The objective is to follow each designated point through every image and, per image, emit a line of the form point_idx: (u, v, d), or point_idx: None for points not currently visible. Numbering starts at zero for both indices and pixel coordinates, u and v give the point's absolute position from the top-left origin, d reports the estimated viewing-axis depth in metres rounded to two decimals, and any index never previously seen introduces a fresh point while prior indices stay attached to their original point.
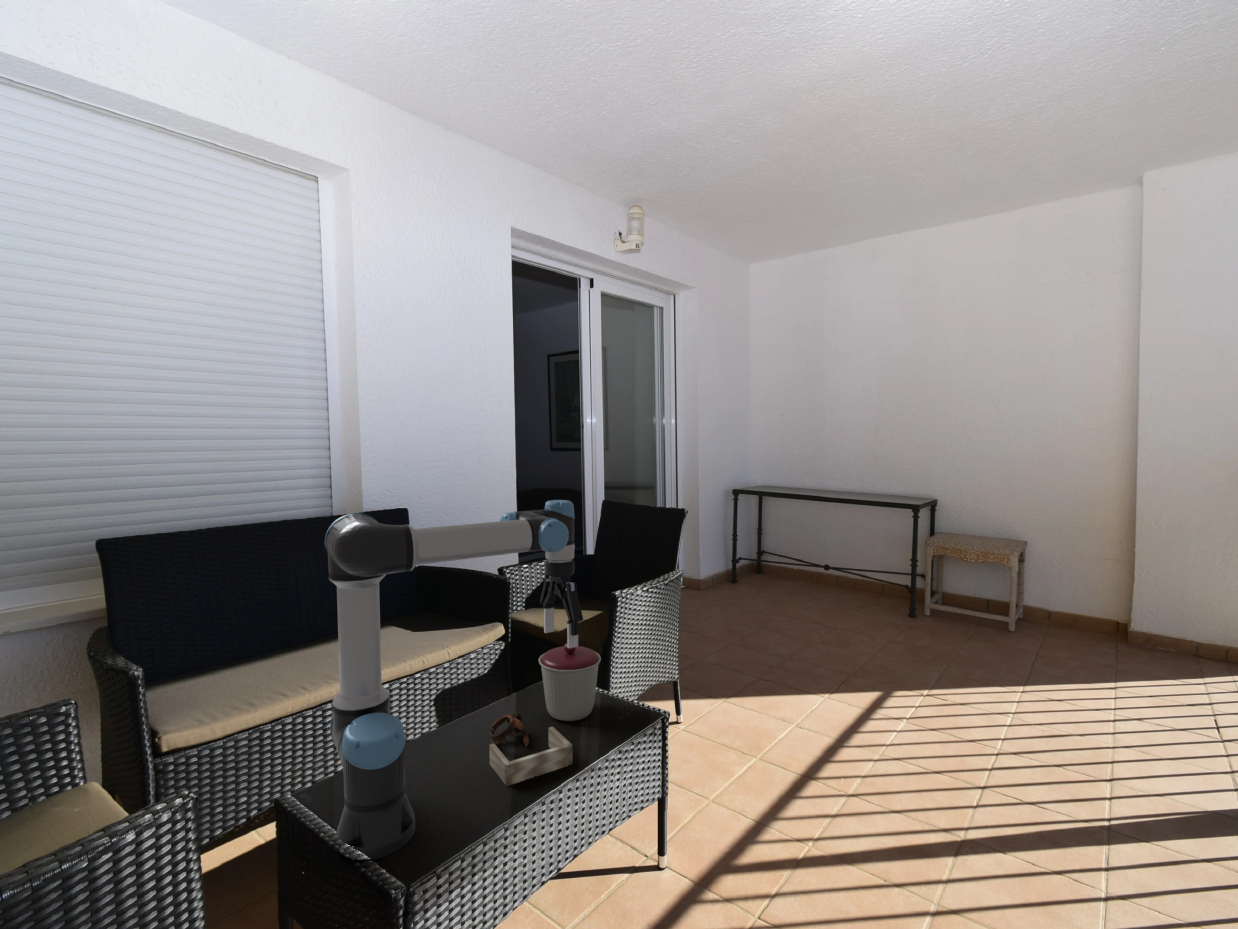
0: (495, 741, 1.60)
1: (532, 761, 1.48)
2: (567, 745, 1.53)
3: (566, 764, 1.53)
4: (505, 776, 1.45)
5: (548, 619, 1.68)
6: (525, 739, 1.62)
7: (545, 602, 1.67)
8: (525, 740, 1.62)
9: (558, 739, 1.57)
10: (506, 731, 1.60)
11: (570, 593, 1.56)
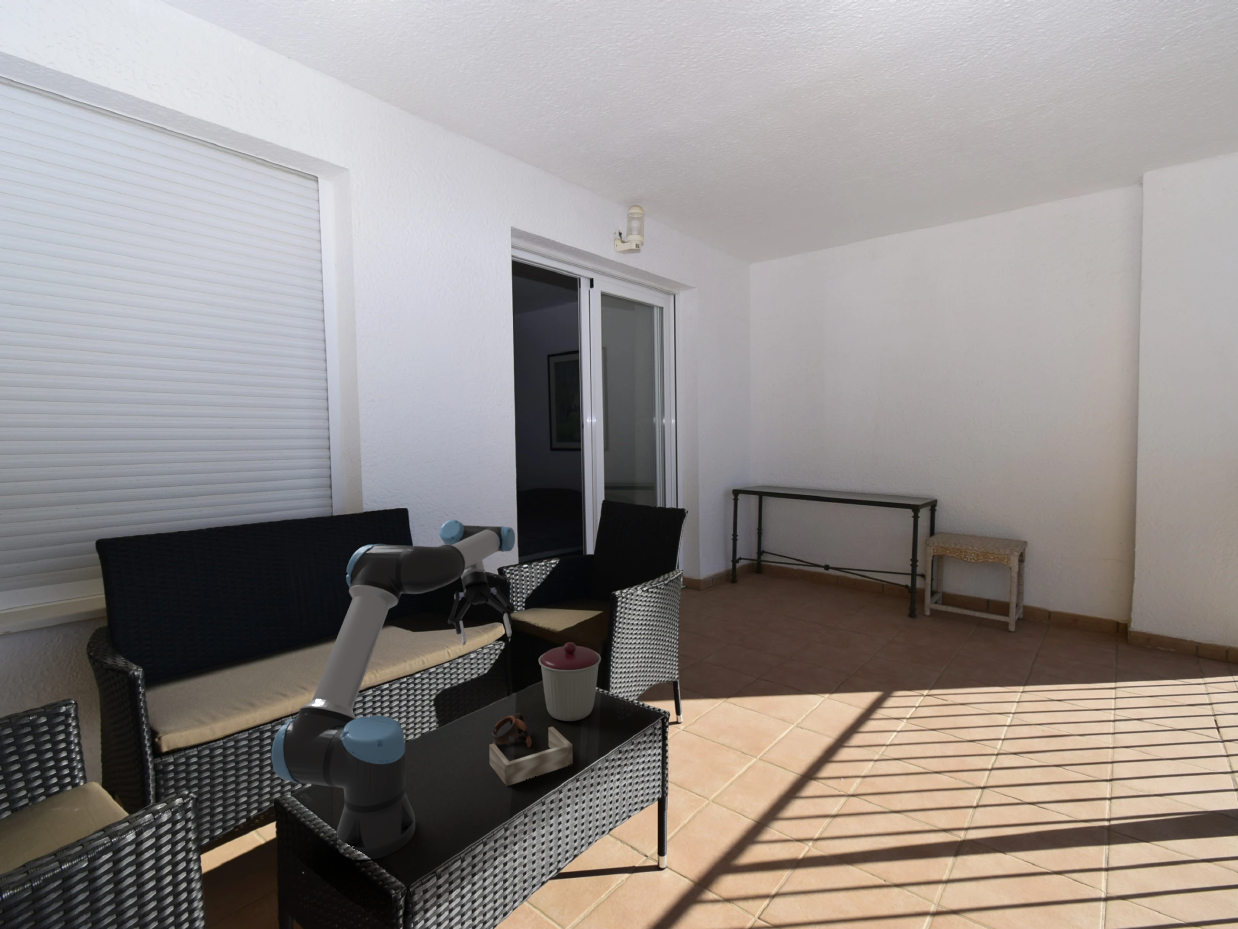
0: (498, 742, 1.60)
1: (532, 761, 1.48)
2: (567, 745, 1.53)
3: (566, 764, 1.53)
4: (505, 776, 1.45)
5: None
6: (528, 740, 1.62)
7: (460, 615, 1.84)
8: (528, 741, 1.62)
9: (558, 739, 1.57)
10: (509, 732, 1.59)
11: None
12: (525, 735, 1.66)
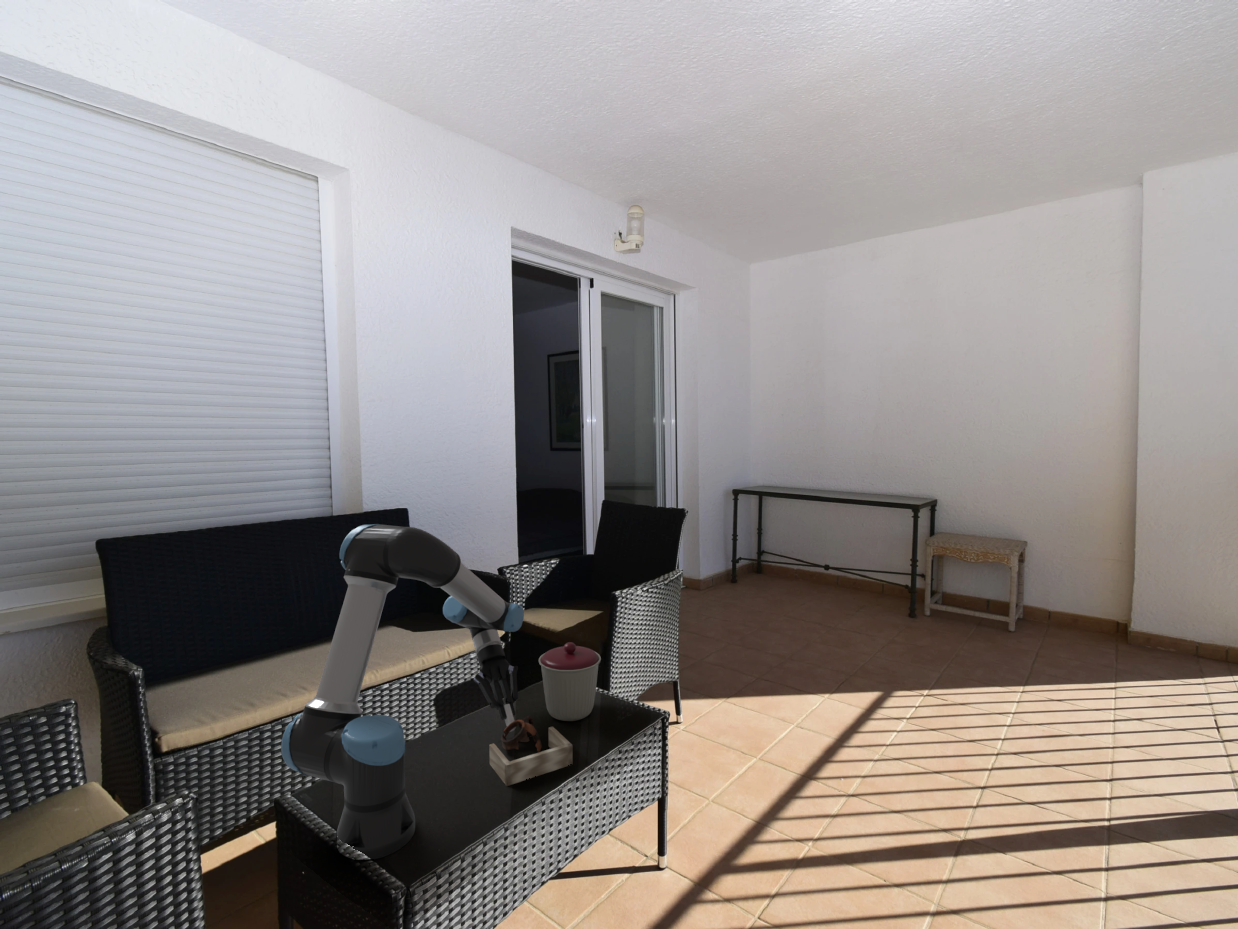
0: (507, 747, 1.57)
1: (532, 761, 1.48)
2: (567, 745, 1.53)
3: (566, 764, 1.53)
4: (505, 776, 1.45)
5: None
6: (537, 744, 1.60)
7: (500, 697, 1.69)
8: (538, 745, 1.59)
9: (558, 739, 1.57)
10: (518, 737, 1.57)
11: None
12: (535, 739, 1.64)
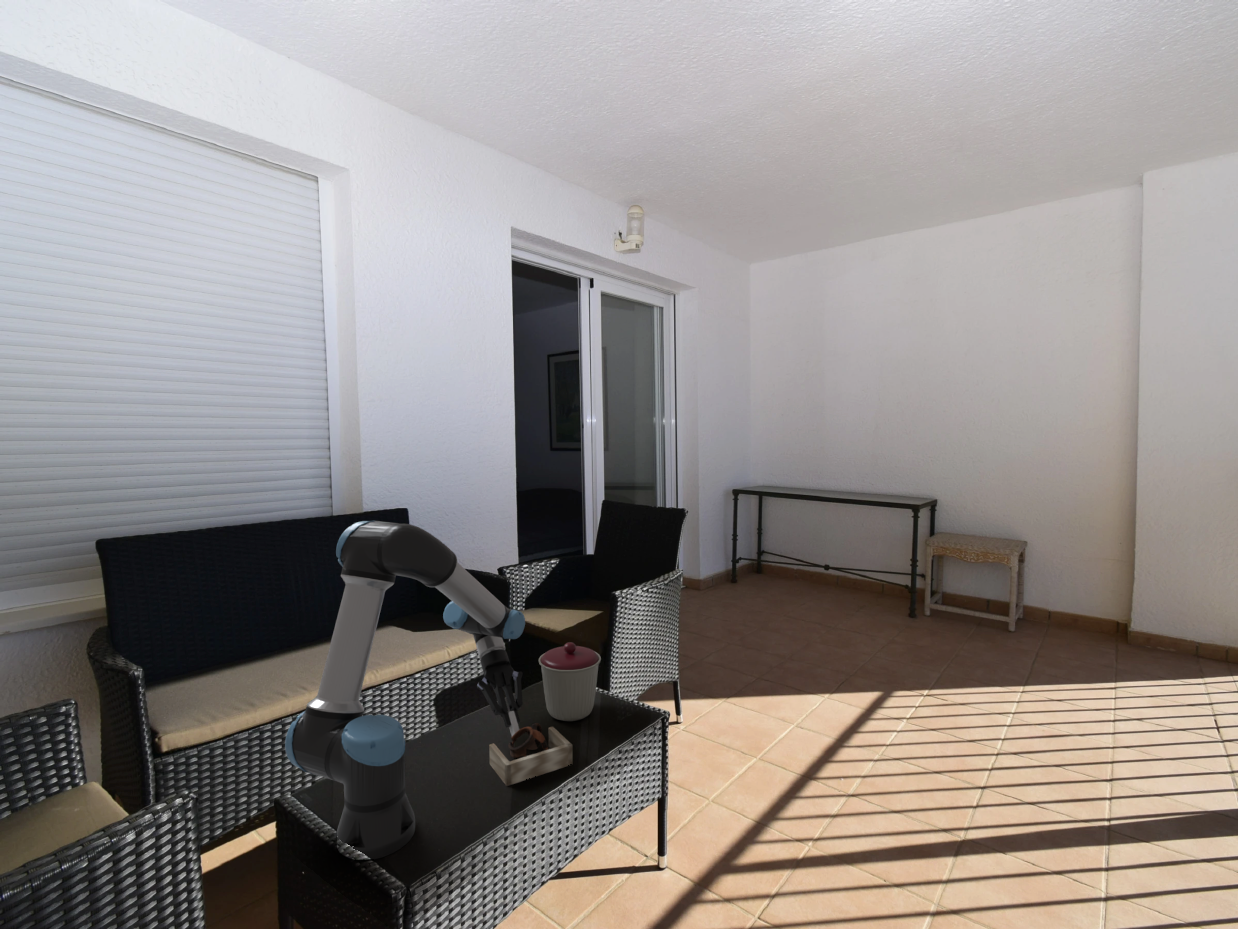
0: (515, 754, 1.53)
1: (532, 761, 1.48)
2: (567, 745, 1.53)
3: (566, 764, 1.53)
4: (505, 776, 1.45)
5: None
6: None
7: (504, 703, 1.65)
8: None
9: (558, 739, 1.57)
10: (526, 744, 1.53)
11: None
12: (543, 746, 1.60)
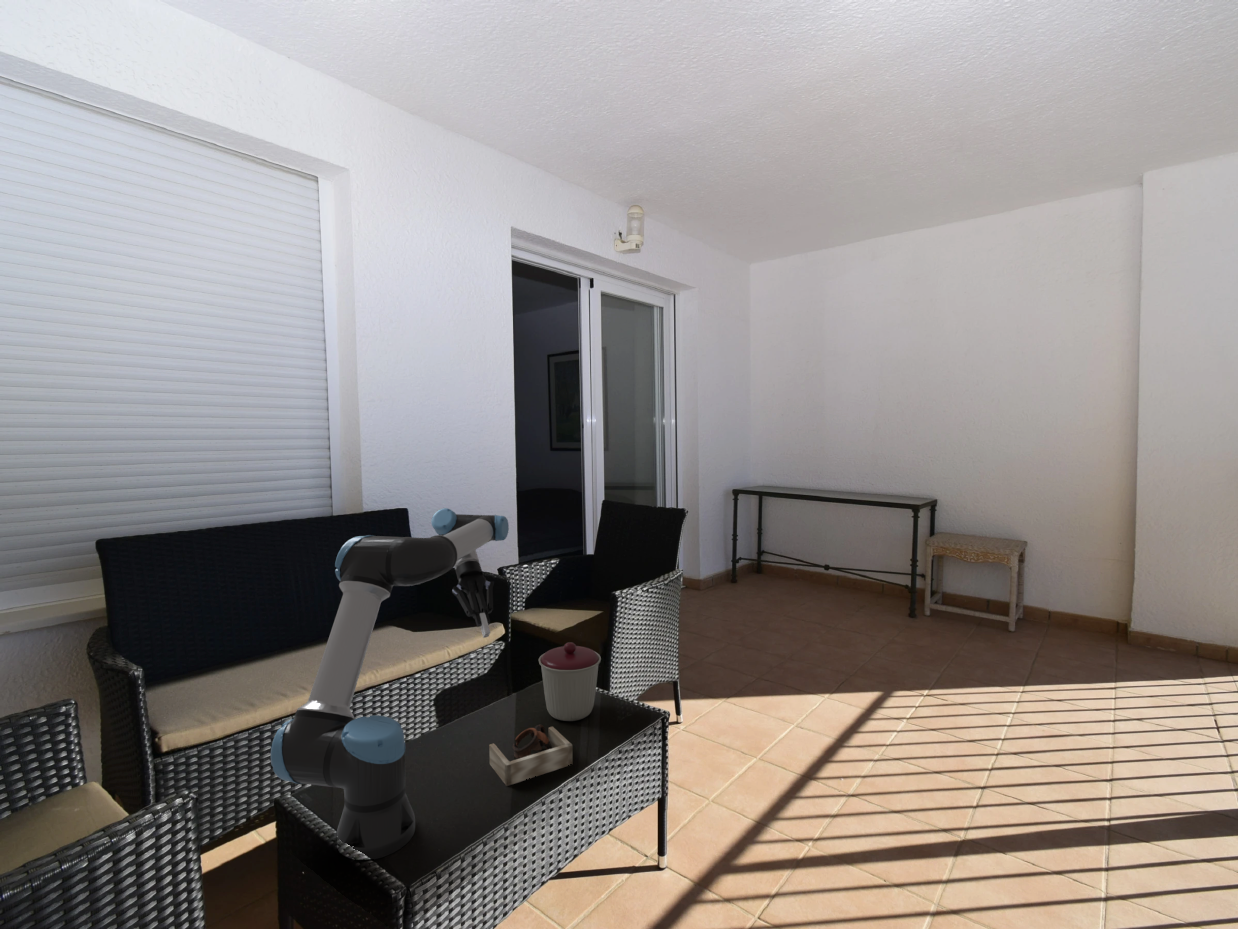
0: (519, 755, 1.53)
1: (532, 761, 1.48)
2: (567, 745, 1.53)
3: (566, 764, 1.53)
4: (505, 776, 1.45)
5: None
6: None
7: (476, 606, 1.81)
8: None
9: (558, 739, 1.57)
10: (531, 745, 1.53)
11: None
12: (547, 748, 1.60)
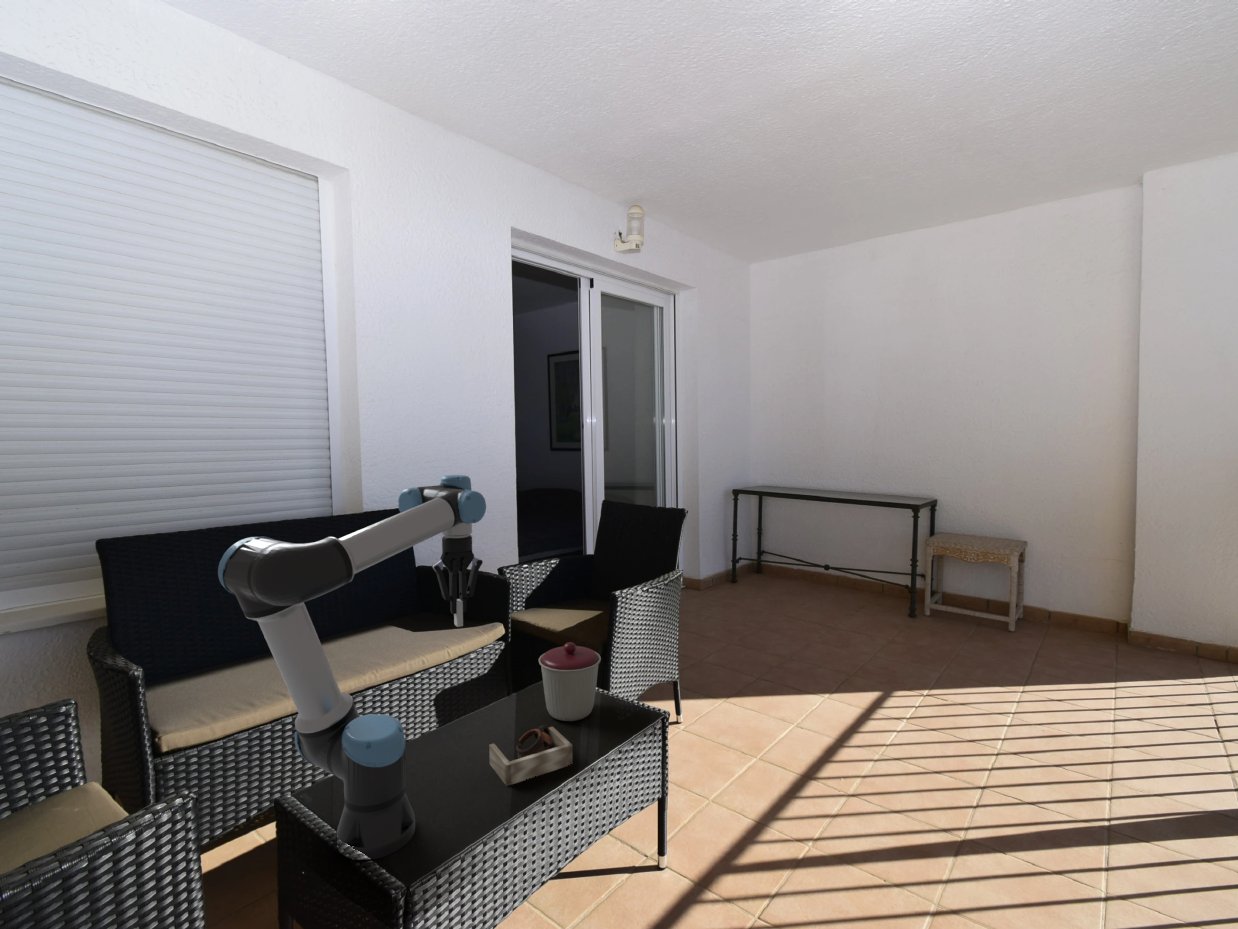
0: None
1: (532, 761, 1.48)
2: (567, 745, 1.53)
3: (566, 764, 1.53)
4: (505, 776, 1.45)
5: None
6: None
7: (454, 593, 1.59)
8: None
9: (558, 739, 1.57)
10: (535, 746, 1.52)
11: None
12: None
